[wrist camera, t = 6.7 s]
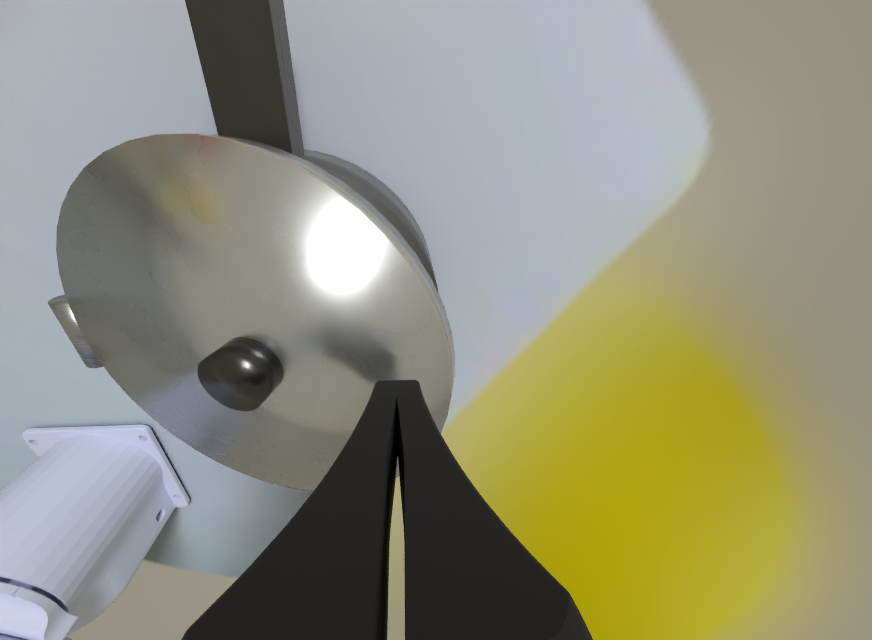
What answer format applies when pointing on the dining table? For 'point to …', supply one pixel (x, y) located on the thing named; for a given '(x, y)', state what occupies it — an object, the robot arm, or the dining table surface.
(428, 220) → the dining table surface
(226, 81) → the cooker pot
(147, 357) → the cooker lid
